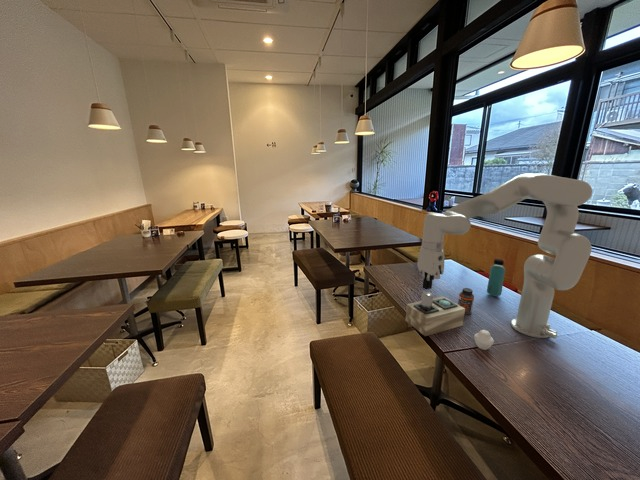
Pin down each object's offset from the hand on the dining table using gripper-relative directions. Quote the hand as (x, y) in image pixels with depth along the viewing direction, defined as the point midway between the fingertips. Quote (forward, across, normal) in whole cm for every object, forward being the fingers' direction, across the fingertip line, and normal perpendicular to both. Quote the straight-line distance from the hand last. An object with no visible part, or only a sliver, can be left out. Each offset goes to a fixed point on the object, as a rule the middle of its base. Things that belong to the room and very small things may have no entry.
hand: (427, 288), depth 105 cm
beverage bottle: (+17, +8, -53) cm, 56 cm away
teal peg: (+16, 0, -11) cm, 20 cm away
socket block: (+17, 0, -6) cm, 18 cm away
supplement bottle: (+17, +2, -26) cm, 31 cm away
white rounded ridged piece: (+17, -19, -11) cm, 28 cm away
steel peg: (+11, 0, -1) cm, 11 cm away
